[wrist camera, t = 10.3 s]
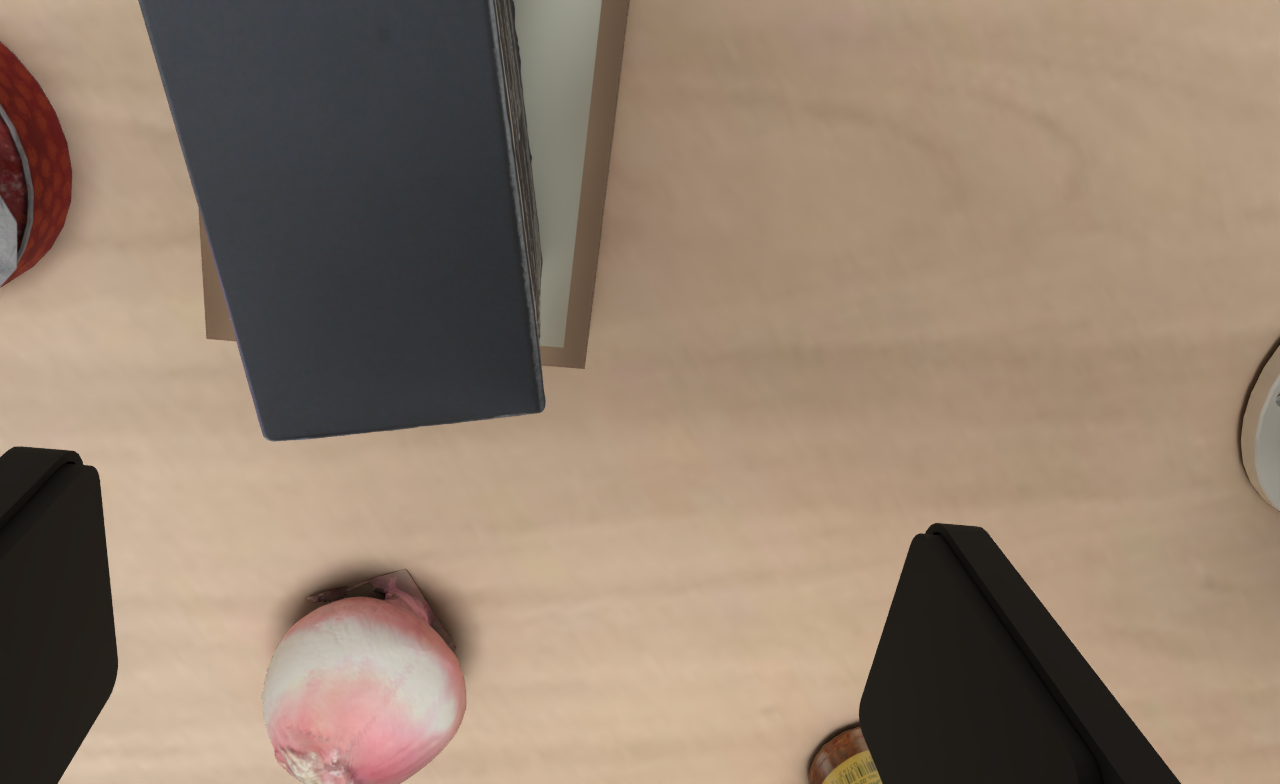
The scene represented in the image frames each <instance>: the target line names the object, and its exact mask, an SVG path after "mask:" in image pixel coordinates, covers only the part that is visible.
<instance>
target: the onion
mask: <svg viewBox="0 0 1280 784" xmlns="http://www.w3.org/2000/svg"><path fill="white" fill-rule="evenodd" d="M366 583H369V584H371V585H372V587H374V588H375V590H374V592H377V593H378V594H381V595H385V599H384V600H380V599H376V598H370V597H349V598H345V599H343V598H344V596H345V595H346V592H348V591H350V590H352V589H354V588H357V587H359V586H361V585H363V584H366ZM346 589H347V586H346V587H342V588H338V589H334V590H331V591H327V592H324V593H321V594H317V595H314V596H311V597H308V598H307V600H311V601H313V602H314V603H316V602H320V601H325V602H326V601H331V600H335V601H334V602H332V603H329V604H327V605H324V606H321V607H319V608H317V609H316V610H314V611H312V612H311V613H309V614H308V615H306V616H305V617H303V618H302V619H300V620H299V621H298V622H296V623H295V624H294V625H293V626H292V627H291V628H290V629H289V630H288V631H287V632H286V633H285V635H284V636H283V638H282V640H281V641H280V643H279V644H278V646H277V648H276V650H275V653H274V655H273V657H272V659H271V662H270V664H269V667H268V669H267V674H266V677H265V681H264V688H263V693H262V700H263V713H264V720H265V725H266V728H267V731H268V735H269V737H270V739H271V743H272V745H273V748H274V750H275V757H276V759H277V762H278V763H279V764H280V765H281V766H282V767H283V768H284V769H286V770H287V772H288V773H289V774H290V775H292V776H293V777H295V778H296V779H298V780H299V781H300V782H301V783H302V784H400V783H402V782H403V781H405V780H407V779H408V778H410V777H411V776H413V775H414V774H415V773H417V772H418V771H419V770H421V769H422V768H423V767H425V766H426V765H427V764H428V763H429V762H431V761H432V760H433V759H434V758H435V757H436V756H437V755H438V754H439V753H440V752H441V751H442V750H443V749H444V748H445V747H446V746H447V745H448V743H449V742H450V741H451V740H452V738H453V737H454V735H455V734H456V732H457V730H458V728H459V726H460V724H461V722H462V719H463V716H464V713H465V710H466V687H465V681H464V676H463V673H462V670H461V667H460V664H459V662H458V660H457V658H456V656H455V654H454V653H453V652H454V650H455V649H456V646H455V644H454V643H453V641H452V640H451V638H450V637H449V635H448V634H447V632H446V631H445V629H444V628H443V626H442V625H441V623H440V622H439V620H438V619H437V617H436V616H435V614H434V612H433V611H432V609H431V608H430V606H429V605H428V603H427V601H426V600H425V598H424V597H423V595H422V594H421V592H420V590H419V589H418V587H417V586H416V584H415V582H414V581H413V579H412V578H411V576H410V575H409V573H408V572H407V570H406V569H404V570H400V571H397V572H393V573H390V574H387V575H383V576H380V577H376V578H373V579H369V580H366V581H363V582H361V583H359V584H357V585H355V586H353V587H352V588H350V589H348V590H346Z"/></svg>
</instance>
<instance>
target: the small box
mask: <svg viewBox="0 0 1280 784" xmlns="http://www.w3.org/2000/svg"><path fill="white" fill-rule="evenodd" d="M138 1H139V4H140V8H141V11H142V14H143V18H144V21H145V25H146V28H147V31H148V35H149V38H150V42H151V45H152V48H153V52H154V55H155V59H156V62H157V65H158V69H159V72H160V76H161V79H162V83H163V86H164V90H165V93H166V96H167V100H168V103H169V107H170V110H171V114H172V117H173V120H174V124H175V127H176V131H177V134H178V138H179V141H180V145H181V148H182V151H183V155H184V158H185V162H186V165H187V169H188V172H189V176H190V179H191V182H192V186H193V189H194V193H195V196H196V200H197V203H198V206H199V210H200V213H201V217H202V220H203V224H204V227H205V231H206V234H207V238H208V242H209V245H210V249H211V253H212V256H213V260H214V263H215V267H216V270H217V274H218V277H219V281H220V284H221V288H222V291H223V295H224V298H225V302H226V305H227V309H228V312H229V316H230V319H231V323H232V326H233V330H234V333H235V337H236V341H237V344H238V348H239V352H240V355H241V359H242V362H243V366H244V370H245V373H246V377H247V380H248V384H249V388H250V391H251V394H252V398H253V401H254V405H255V409H256V413H257V416H258V420H259V423H260V427H261V430H262V433H263V436H264V437H265V438H266V440H270V441H286V440H303V439H315V438H324V437H332V436H344V435H350V434H360V433H369V432H377V431H392V430H399V429H407V428H415V427H420V426H431V425H441V424H452V423H460V422H468V421H477V420H486V419H494V418H502V417H511V416H520V415H526V414H534V413H540V412H542V411H543V410H544V408H545V395H544V388H543V378H542V369H541V353H540V303H541V302H540V295H541V293H540V288H541V275H542V273H541V272H542V264H543V259H542V253H541V244H540V235H539V223H538V216H537V208H536V200H535V191H534V183H533V173H532V165H531V162H532V155H531V152H530V147H529V138H528V131H527V121H526V113H525V106H524V96H523V86H522V79H521V58H520V54H519V50H520V48H519V45H518V37H517V34H516V29H515V6H514V2H513V0H138Z"/></svg>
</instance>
